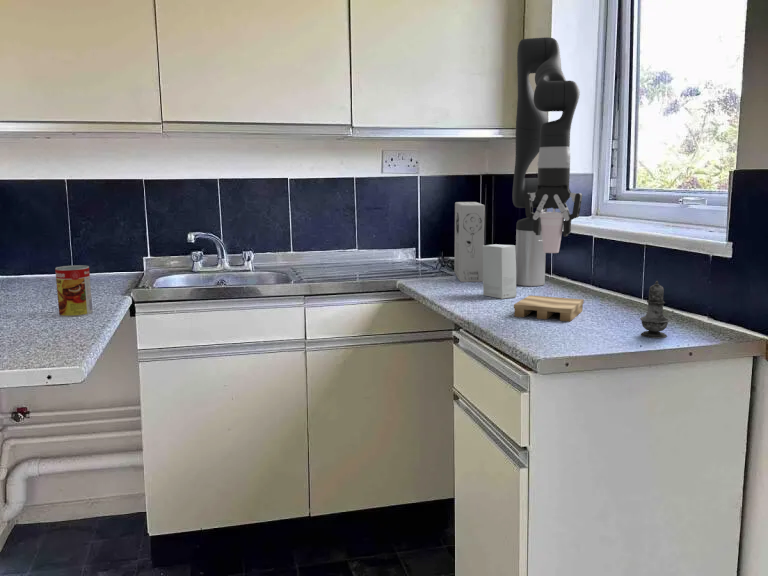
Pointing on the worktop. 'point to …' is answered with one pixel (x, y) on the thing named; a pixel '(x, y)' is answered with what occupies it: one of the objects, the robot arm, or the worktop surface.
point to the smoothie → (551, 230)
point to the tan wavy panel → (549, 307)
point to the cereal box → (469, 241)
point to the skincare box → (499, 271)
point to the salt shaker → (655, 314)
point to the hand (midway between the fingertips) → (551, 235)
